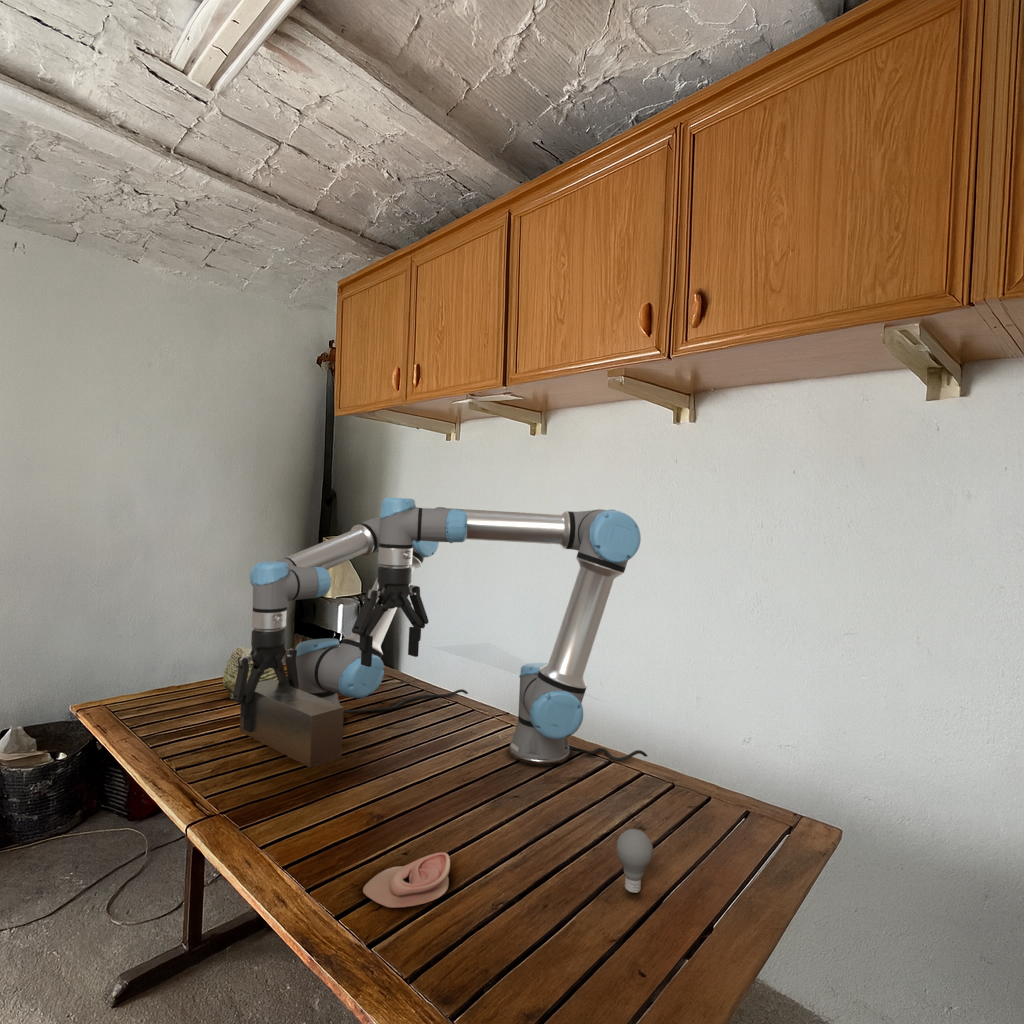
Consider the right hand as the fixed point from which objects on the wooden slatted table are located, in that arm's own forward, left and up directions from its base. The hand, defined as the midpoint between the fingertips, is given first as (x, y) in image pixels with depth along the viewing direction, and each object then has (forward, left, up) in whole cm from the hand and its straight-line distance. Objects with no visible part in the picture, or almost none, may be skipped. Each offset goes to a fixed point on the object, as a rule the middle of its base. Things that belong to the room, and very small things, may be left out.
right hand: (390, 660), depth 143 cm
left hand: (+24, -18, -18) cm, 35 cm away
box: (+20, -9, -19) cm, 29 cm away
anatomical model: (+8, +40, -27) cm, 49 cm away
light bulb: (-26, +56, -27) cm, 67 cm away
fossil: (+21, -73, -27) cm, 80 cm away
